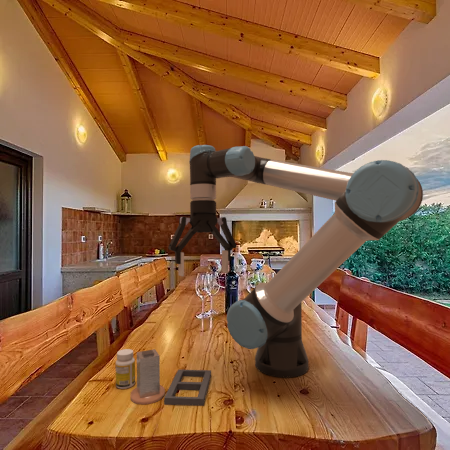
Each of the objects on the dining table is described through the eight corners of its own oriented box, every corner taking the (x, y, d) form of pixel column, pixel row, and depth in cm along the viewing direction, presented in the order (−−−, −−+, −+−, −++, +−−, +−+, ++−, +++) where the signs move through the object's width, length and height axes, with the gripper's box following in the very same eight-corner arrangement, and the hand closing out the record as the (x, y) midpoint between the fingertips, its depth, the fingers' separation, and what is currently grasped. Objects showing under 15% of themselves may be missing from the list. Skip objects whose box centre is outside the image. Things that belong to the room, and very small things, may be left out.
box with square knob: (155, 385, 79) (155, 347, 79) (159, 393, 75) (159, 353, 75) (136, 389, 77) (136, 350, 77) (140, 398, 73) (140, 357, 73)
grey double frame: (211, 375, 85) (211, 370, 85) (203, 405, 71) (203, 399, 71) (178, 375, 86) (178, 369, 86) (164, 404, 72) (164, 397, 72)
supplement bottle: (128, 378, 84) (128, 346, 84) (138, 383, 81) (138, 351, 82) (111, 385, 81) (111, 352, 81) (122, 391, 78) (122, 357, 78)
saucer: (168, 387, 79) (168, 384, 79) (159, 404, 71) (159, 401, 71) (137, 386, 80) (137, 383, 80) (125, 403, 72) (125, 400, 72)
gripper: (235, 202, 100) (236, 269, 100) (157, 200, 89) (157, 275, 89) (247, 200, 93) (248, 272, 93) (164, 197, 83) (164, 279, 82)
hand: (203, 274), depth 91 cm, fingers open, 13 cm apart
